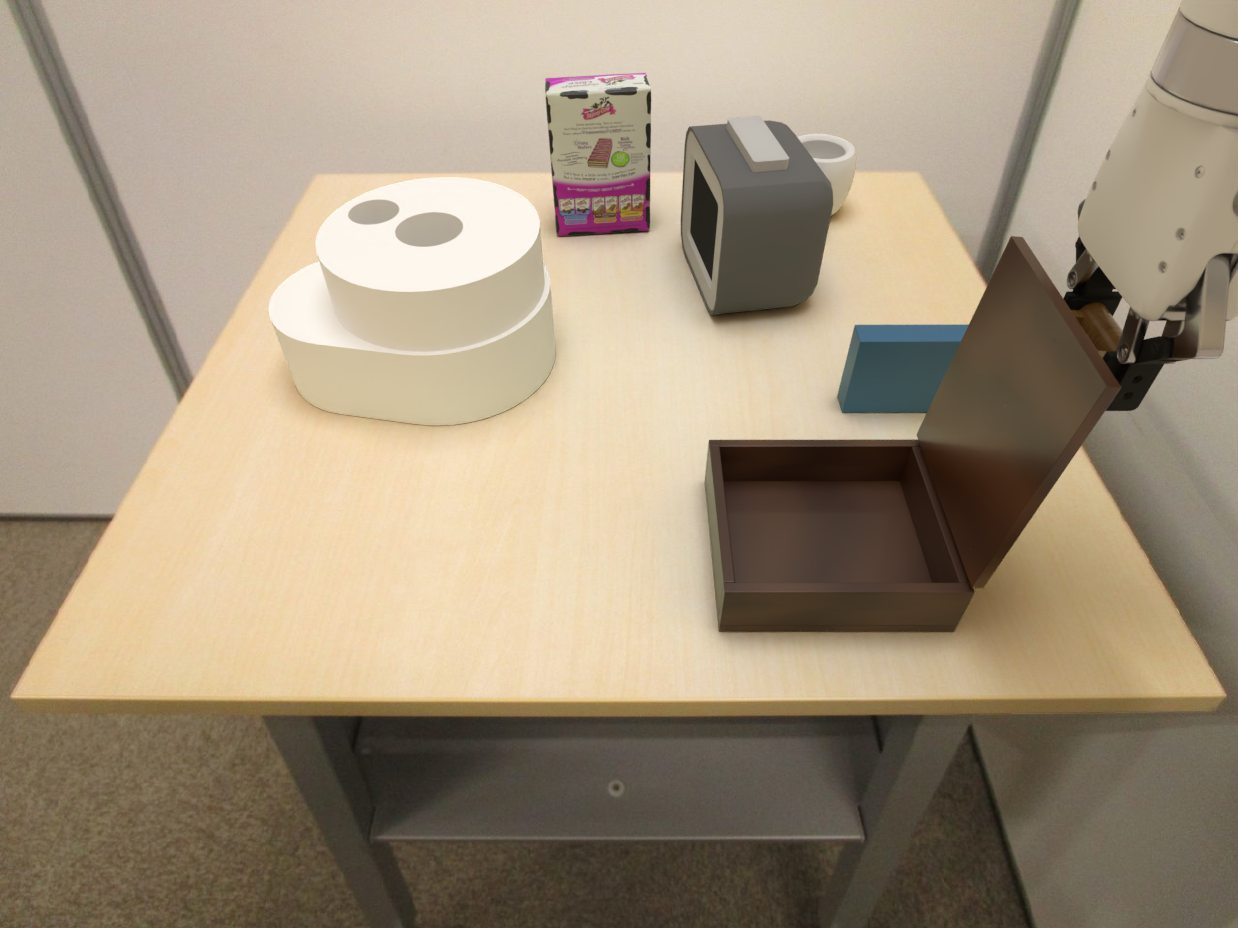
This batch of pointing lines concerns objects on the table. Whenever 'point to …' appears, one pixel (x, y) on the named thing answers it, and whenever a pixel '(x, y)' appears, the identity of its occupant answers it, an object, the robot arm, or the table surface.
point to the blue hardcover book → (896, 367)
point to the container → (421, 305)
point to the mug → (833, 162)
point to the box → (830, 538)
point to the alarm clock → (752, 215)
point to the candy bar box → (600, 152)
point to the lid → (1014, 406)
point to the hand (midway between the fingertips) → (1088, 373)
